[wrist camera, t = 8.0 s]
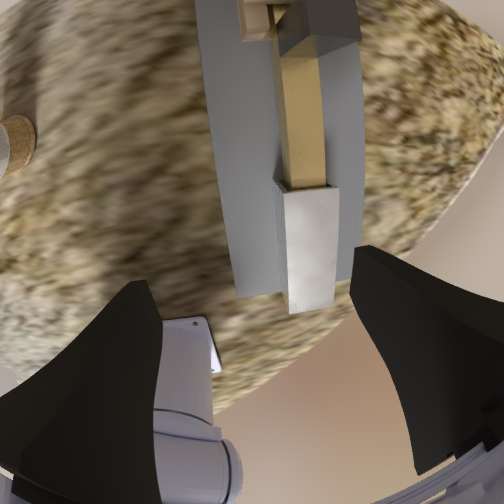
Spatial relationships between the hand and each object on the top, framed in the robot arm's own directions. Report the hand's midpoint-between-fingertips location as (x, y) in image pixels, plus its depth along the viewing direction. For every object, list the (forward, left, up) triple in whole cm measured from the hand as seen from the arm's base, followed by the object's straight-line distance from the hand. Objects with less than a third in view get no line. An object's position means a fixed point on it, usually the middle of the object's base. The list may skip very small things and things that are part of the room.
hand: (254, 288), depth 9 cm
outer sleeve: (+4, -3, -9) cm, 11 cm away
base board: (+4, +3, -10) cm, 12 cm away
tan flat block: (+4, +6, -9) cm, 12 cm away
